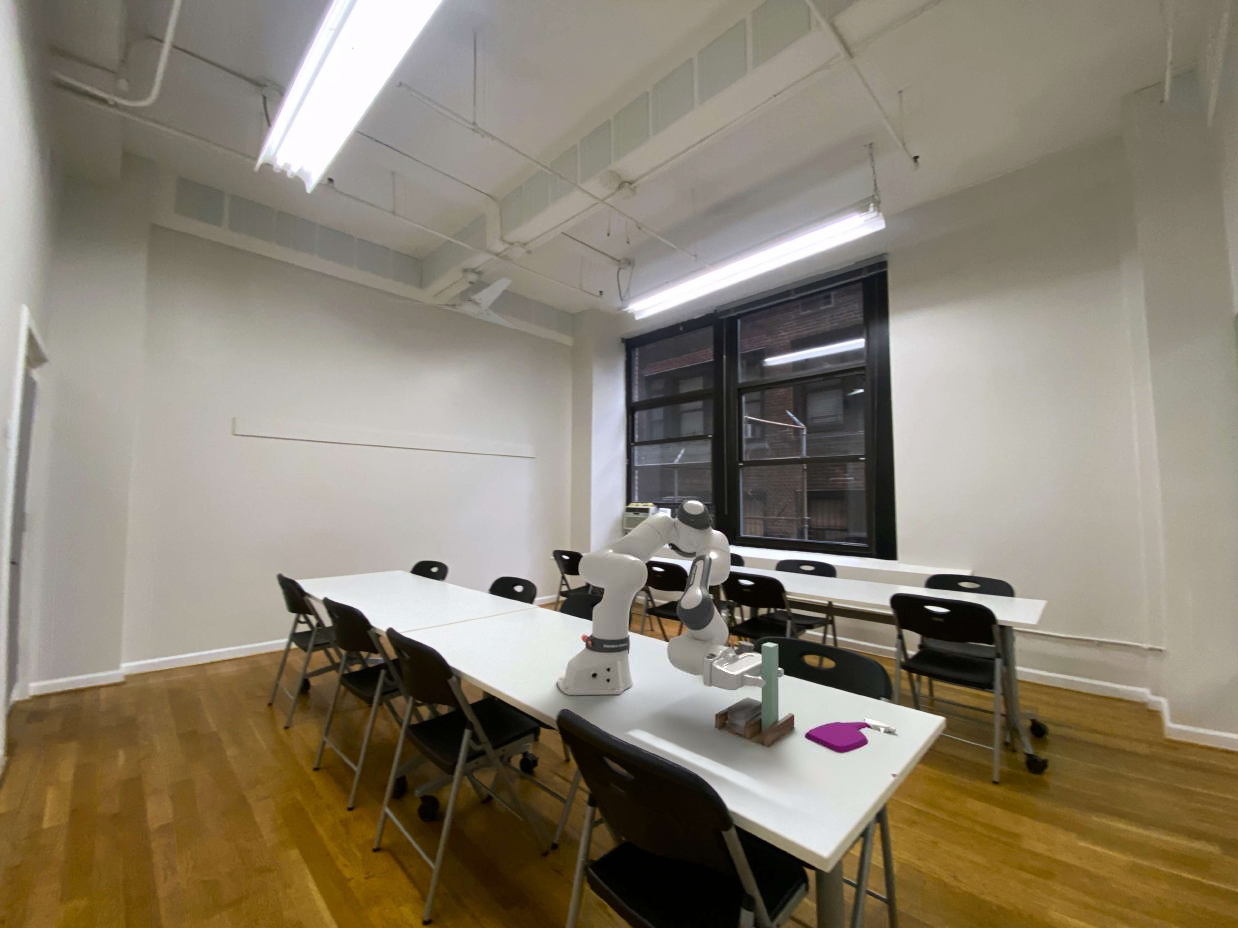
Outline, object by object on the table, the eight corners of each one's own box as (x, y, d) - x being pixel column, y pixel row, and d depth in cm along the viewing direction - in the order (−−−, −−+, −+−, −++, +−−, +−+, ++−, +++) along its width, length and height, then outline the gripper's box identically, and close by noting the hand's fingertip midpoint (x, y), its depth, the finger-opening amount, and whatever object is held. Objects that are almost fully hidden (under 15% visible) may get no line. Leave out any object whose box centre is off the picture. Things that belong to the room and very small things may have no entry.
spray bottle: (799, 743, 113) (858, 721, 126) (843, 764, 104) (902, 738, 117) (799, 729, 113) (858, 709, 127) (843, 750, 104) (902, 725, 118)
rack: (715, 733, 116) (715, 714, 116) (744, 716, 126) (744, 698, 126) (768, 754, 106) (768, 732, 107) (795, 733, 117) (795, 714, 117)
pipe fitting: (722, 671, 159) (727, 640, 160) (732, 667, 165) (736, 637, 166) (758, 684, 151) (762, 651, 152) (767, 680, 158) (771, 648, 159)
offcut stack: (725, 727, 116) (725, 708, 116) (748, 714, 124) (748, 695, 124) (744, 734, 112) (744, 714, 113) (766, 720, 120) (766, 701, 121)
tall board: (761, 733, 113) (761, 644, 115) (768, 728, 116) (768, 642, 118) (771, 736, 112) (771, 647, 113) (778, 731, 114) (778, 644, 116)
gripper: (742, 667, 131) (792, 681, 122) (700, 687, 116) (753, 703, 107) (742, 643, 132) (792, 655, 122) (700, 659, 117) (753, 674, 107)
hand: (773, 677), depth 114 cm, fingers open, 8 cm apart
